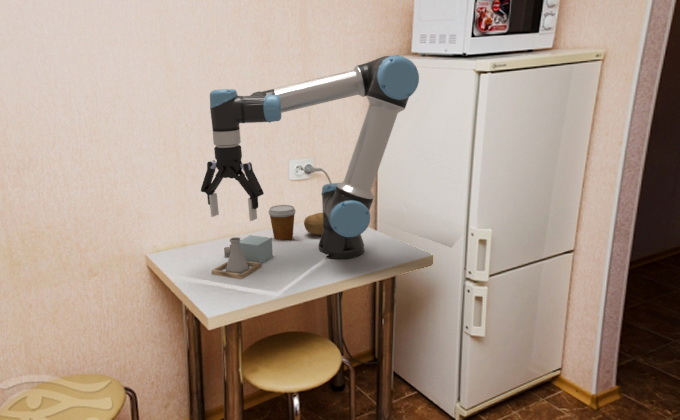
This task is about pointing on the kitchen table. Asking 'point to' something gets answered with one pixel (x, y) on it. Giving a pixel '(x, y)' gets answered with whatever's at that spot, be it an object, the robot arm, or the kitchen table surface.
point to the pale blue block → (256, 248)
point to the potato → (314, 224)
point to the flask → (236, 258)
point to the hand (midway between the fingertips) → (233, 217)
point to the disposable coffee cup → (282, 221)
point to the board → (234, 275)
